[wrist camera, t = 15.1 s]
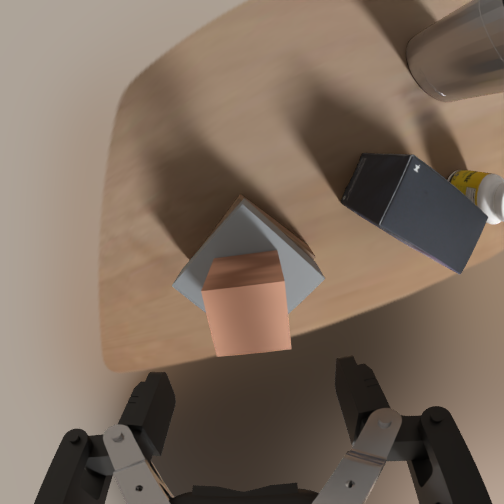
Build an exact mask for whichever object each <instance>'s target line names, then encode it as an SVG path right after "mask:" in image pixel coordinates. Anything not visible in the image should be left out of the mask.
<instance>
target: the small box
mask: <svg viewBox="0 0 504 504" xmlns="http://www.w3.org/2000/svg"><path fill="white" fill-rule="evenodd" d="M341 203H342V204H343V205H344V206H346V207H347V208H349V209H350V210H352V211H353V212H355V213H356V214H358V215H359V216H361V217H362V218H364V219H366V220H367V221H369V222H371V223H372V224H374V225H375V226H377V227H379V228H380V229H382V230H383V231H385V232H387V233H388V234H390V235H392V236H393V237H395V238H396V239H398V240H400V241H401V242H403V243H404V244H406V245H408V246H409V247H411V248H413V249H415V250H417V251H419V252H420V253H422V254H424V255H426V256H427V257H429V258H431V259H433V260H434V261H436V262H438V263H440V264H441V265H443V266H445V267H447V268H449V269H450V270H452V271H454V272H456V273H458V274H461V273H462V271H463V269H464V268H465V266H466V264H467V262H468V260H469V258H470V256H471V254H472V252H473V250H474V248H475V246H476V244H477V241H478V239H479V237H480V235H481V233H482V230H483V228H484V226H485V224H486V221H487V219H488V216H487V215H486V214H485V213H484V212H483V211H482V210H481V209H480V208H479V207H478V206H477V205H475V204H474V203H473V202H472V201H471V200H470V199H469V198H468V197H466V196H465V195H464V194H463V193H462V192H461V191H460V190H458V189H457V188H456V187H455V186H454V185H452V184H451V183H450V182H449V181H447V180H446V179H445V178H444V177H443V176H441V175H440V174H439V173H437V172H436V171H435V170H434V169H432V168H431V167H430V166H428V165H427V164H426V163H424V162H423V161H422V160H420V159H419V158H417V157H416V156H415V155H408V154H372V153H363V154H362V156H361V157H360V161H359V163H358V164H357V168H356V170H355V172H354V174H353V176H352V178H351V180H350V183H349V185H348V186H347V187H346V190H345V192H344V195H343V197H342V200H341Z"/></svg>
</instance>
